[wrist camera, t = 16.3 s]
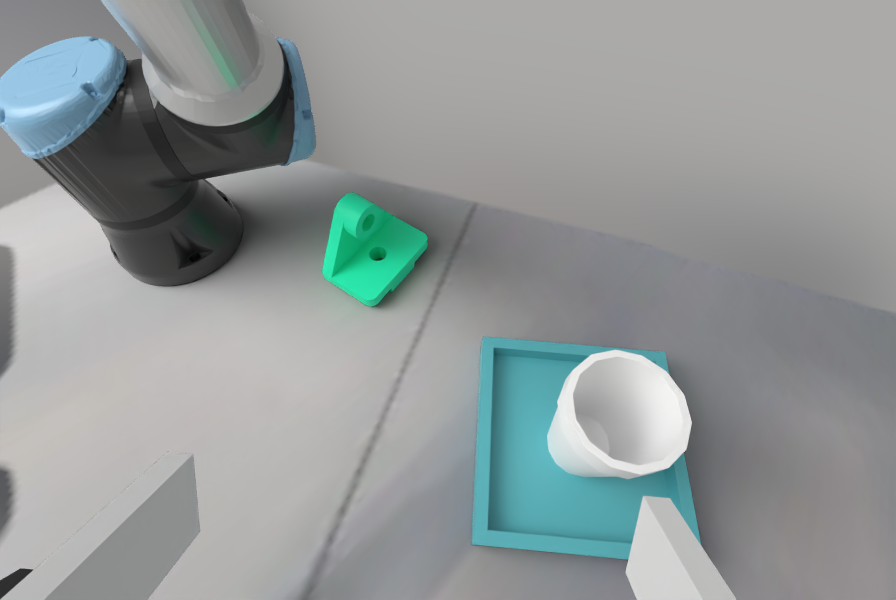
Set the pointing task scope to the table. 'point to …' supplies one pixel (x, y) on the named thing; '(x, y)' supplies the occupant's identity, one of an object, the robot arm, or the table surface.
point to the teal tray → (551, 461)
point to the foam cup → (618, 418)
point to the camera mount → (369, 249)
